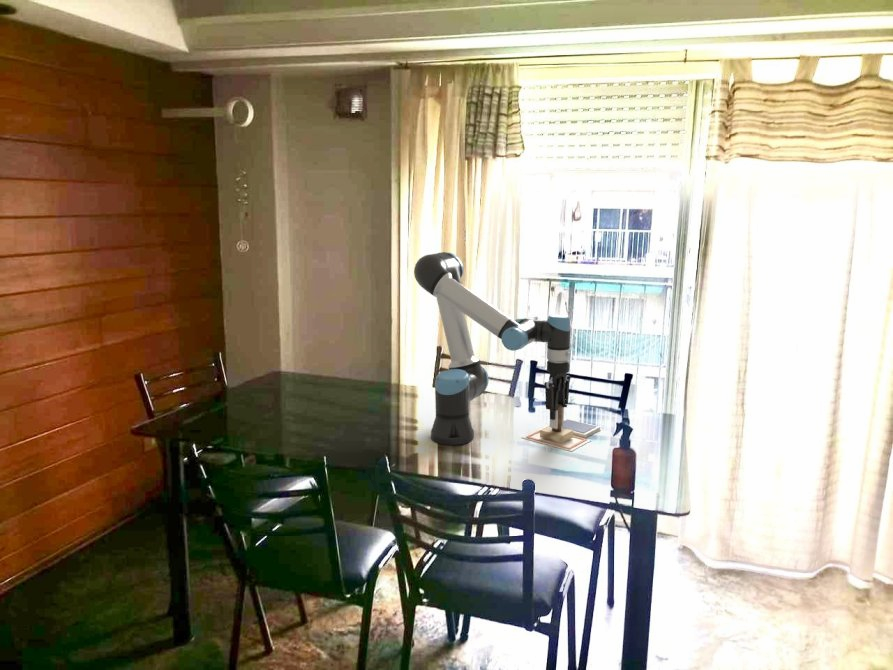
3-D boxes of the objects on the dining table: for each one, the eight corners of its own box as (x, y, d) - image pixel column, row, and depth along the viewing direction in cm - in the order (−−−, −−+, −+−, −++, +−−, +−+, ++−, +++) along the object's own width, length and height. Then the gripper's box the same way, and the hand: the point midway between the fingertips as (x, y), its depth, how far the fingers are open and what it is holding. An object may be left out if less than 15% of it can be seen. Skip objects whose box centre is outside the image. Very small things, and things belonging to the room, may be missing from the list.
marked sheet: (521, 437, 231) (521, 436, 231) (542, 428, 241) (542, 426, 241) (571, 451, 218) (571, 450, 218) (591, 440, 228) (591, 439, 228)
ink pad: (550, 429, 240) (550, 425, 239) (566, 421, 248) (566, 418, 248) (584, 438, 231) (585, 434, 230) (600, 429, 239) (600, 426, 239)
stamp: (539, 437, 230) (540, 405, 227) (550, 431, 235) (551, 400, 233) (562, 443, 224) (563, 410, 222) (573, 437, 229) (573, 405, 227)
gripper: (554, 366, 216) (553, 435, 220) (580, 357, 228) (578, 422, 232) (535, 363, 221) (534, 430, 225) (561, 354, 233) (559, 418, 237)
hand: (556, 426), depth 229 cm, fingers closed on stamp, 3 cm apart
